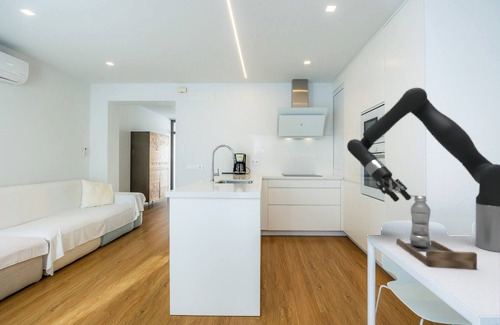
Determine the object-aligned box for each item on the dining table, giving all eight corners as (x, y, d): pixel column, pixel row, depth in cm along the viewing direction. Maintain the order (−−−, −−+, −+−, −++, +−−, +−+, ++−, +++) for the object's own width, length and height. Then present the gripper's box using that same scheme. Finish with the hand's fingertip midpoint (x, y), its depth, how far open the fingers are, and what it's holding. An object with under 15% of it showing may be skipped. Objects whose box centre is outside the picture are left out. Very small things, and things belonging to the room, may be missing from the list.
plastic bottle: (406, 243, 98) (406, 195, 98) (423, 244, 97) (423, 195, 97) (416, 249, 91) (416, 197, 91) (434, 249, 91) (434, 197, 91)
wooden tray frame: (433, 245, 97) (433, 233, 97) (476, 269, 75) (476, 253, 75) (396, 243, 99) (396, 231, 99) (428, 266, 77) (428, 251, 77)
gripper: (373, 165, 104) (399, 195, 94) (393, 165, 111) (420, 193, 100) (362, 177, 109) (386, 206, 99) (382, 176, 115) (406, 203, 105)
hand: (403, 199), depth 99 cm, fingers open, 8 cm apart
